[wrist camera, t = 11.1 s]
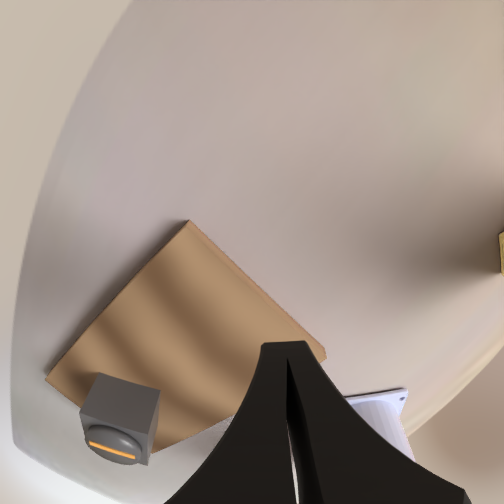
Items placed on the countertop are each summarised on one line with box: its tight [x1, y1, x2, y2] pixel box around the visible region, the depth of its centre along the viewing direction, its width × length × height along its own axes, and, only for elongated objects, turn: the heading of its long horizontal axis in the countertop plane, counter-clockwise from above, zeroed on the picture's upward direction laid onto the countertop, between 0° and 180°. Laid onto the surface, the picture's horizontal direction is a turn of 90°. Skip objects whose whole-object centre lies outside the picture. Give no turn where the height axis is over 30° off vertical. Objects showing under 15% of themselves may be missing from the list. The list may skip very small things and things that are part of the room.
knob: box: [79, 372, 161, 466], centre depth 21 cm, size 5×5×5 cm
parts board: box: [45, 220, 327, 454], centre depth 23 cm, size 21×13×1 cm, turn 133°
